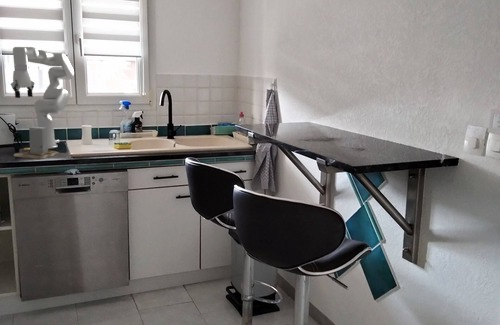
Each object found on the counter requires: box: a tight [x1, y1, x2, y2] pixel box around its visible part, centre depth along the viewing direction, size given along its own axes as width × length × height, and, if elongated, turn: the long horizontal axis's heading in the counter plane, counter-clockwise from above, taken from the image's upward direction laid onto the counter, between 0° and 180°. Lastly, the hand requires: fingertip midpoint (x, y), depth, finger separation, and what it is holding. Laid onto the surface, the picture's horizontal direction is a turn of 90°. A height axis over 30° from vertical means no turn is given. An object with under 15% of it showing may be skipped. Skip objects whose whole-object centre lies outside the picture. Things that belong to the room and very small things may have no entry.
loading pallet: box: [13, 148, 60, 160], centre depth 284 cm, size 15×20×4 cm
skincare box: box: [28, 126, 49, 154], centre depth 281 cm, size 8×7×16 cm
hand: (24, 97), depth 284 cm, fingers open, 9 cm apart
